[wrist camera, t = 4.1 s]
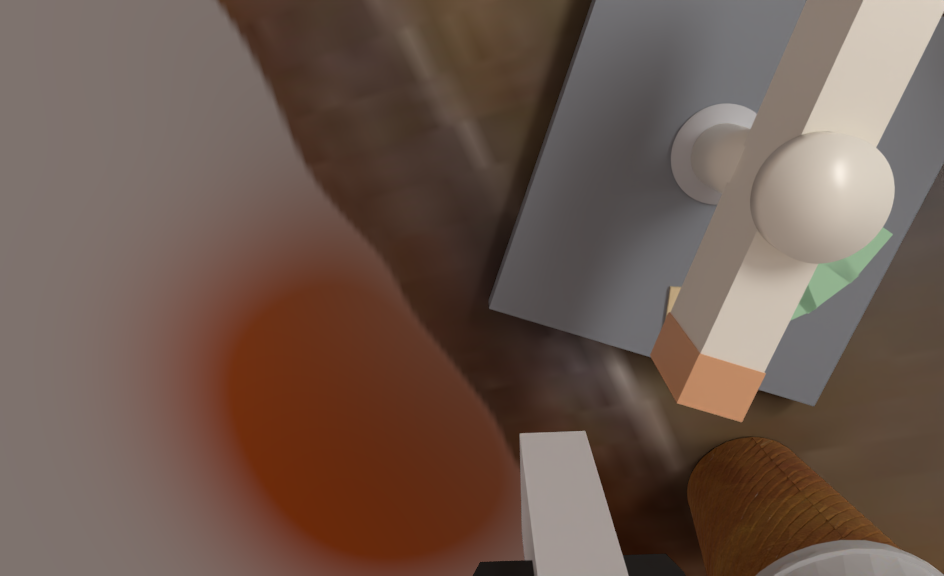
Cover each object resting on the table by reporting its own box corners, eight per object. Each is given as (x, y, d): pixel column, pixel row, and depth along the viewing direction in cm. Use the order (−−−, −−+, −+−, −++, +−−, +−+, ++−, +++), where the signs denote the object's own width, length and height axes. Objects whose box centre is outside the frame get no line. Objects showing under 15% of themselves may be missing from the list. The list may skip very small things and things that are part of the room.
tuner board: (623, -92, 29) (630, -98, 28) (989, 40, 31) (1011, 40, 29) (488, 300, 35) (488, 309, 33) (803, 395, 36) (815, 407, 35)
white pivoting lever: (759, -52, 28) (897, -102, 19) (850, -20, 28) (1028, -52, 19) (612, 310, 33) (663, 410, 24) (690, 334, 33) (771, 441, 24)
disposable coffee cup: (798, 379, 36) (948, 532, 24) (858, 518, 38) (1018, 714, 27) (627, 455, 37) (693, 633, 26) (696, 584, 40) (784, 796, 29)
